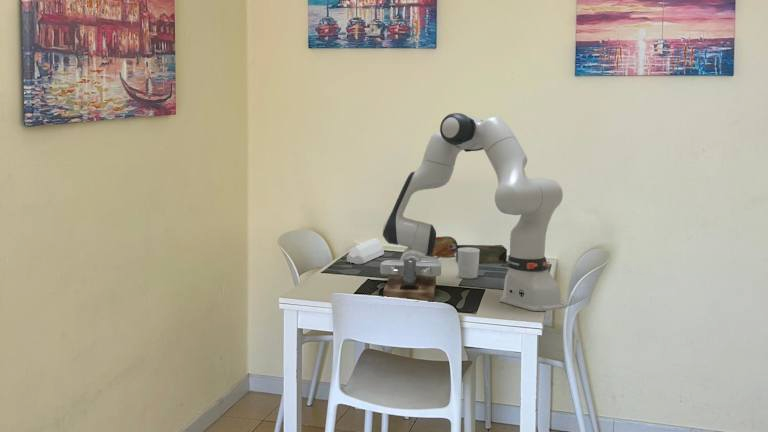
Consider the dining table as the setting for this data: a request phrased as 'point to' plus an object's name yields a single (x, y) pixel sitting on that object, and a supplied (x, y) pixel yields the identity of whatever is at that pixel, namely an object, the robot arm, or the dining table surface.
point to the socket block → (422, 292)
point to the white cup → (468, 262)
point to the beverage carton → (488, 253)
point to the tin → (444, 247)
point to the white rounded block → (365, 252)
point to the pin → (409, 274)
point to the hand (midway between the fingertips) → (409, 273)
